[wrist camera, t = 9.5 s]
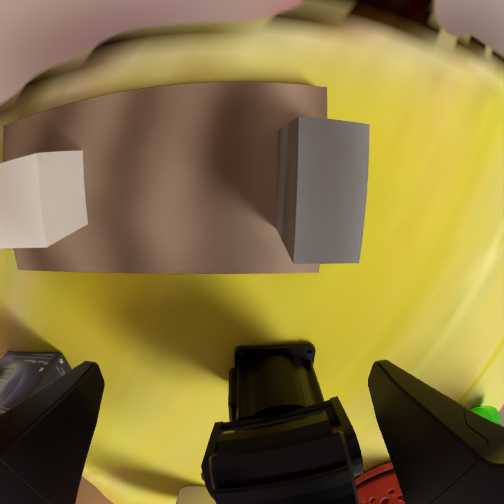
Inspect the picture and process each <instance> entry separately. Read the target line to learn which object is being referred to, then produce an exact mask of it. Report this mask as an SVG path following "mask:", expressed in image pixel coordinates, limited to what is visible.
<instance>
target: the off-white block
mask: <svg viewBox="0 0 504 504" xmlns="http://www.w3.org/2000/svg"><path fill="white" fill-rule="evenodd" d="M86 225H88V220H87V210H86V200H85V187H84V170H83V150H79V151H58V152H43V153H35V154H31V155H28V156H24V157H20V158H17V159H13V160H10V161H7V162H3V163H0V248H47V247H49V246H50V245H52V244H54V243H55V242H57V241H59V240H61V239H62V238H64V237H66V236H68V235H69V234H71V233H73V232H75V231H77V230H78V229H80V228H82V227H84V226H86Z"/></svg>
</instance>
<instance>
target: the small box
mask: <svg viewBox="0 0 504 504" xmlns="http://www.w3.org/2000/svg"><path fill="white" fill-rule="evenodd" d="M70 370H71V368H70V366H69V365H68V363H67V361H66V360H65V358H64V356H63V355H62V353H60V352H13V351H8V352H7V353H6V354H5V355H4V356H3V357H2V359H1V360H0V415H1V414H3V413H4V412H6V411H8V410H9V409H11V408H13V407H14V406H16V405H17V404H19V403H20V402H22V401H23V400H25V399H27V398H28V397H30V396H31V395H33V394H34V393H36V392H38V391H39V390H41V389H42V388H44V387H45V386H47V385H49V384H50V383H52V382H53V381H55V380H56V379H58V378H60V377H61V376H63V375H64V374H66V373H67V372H69V371H70Z"/></svg>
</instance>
